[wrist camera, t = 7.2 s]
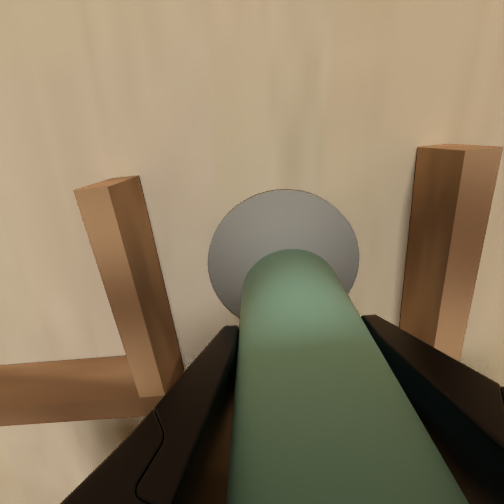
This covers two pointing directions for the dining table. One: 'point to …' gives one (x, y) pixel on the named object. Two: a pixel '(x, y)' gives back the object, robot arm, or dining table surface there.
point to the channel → (159, 315)
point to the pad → (279, 239)
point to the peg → (321, 400)
